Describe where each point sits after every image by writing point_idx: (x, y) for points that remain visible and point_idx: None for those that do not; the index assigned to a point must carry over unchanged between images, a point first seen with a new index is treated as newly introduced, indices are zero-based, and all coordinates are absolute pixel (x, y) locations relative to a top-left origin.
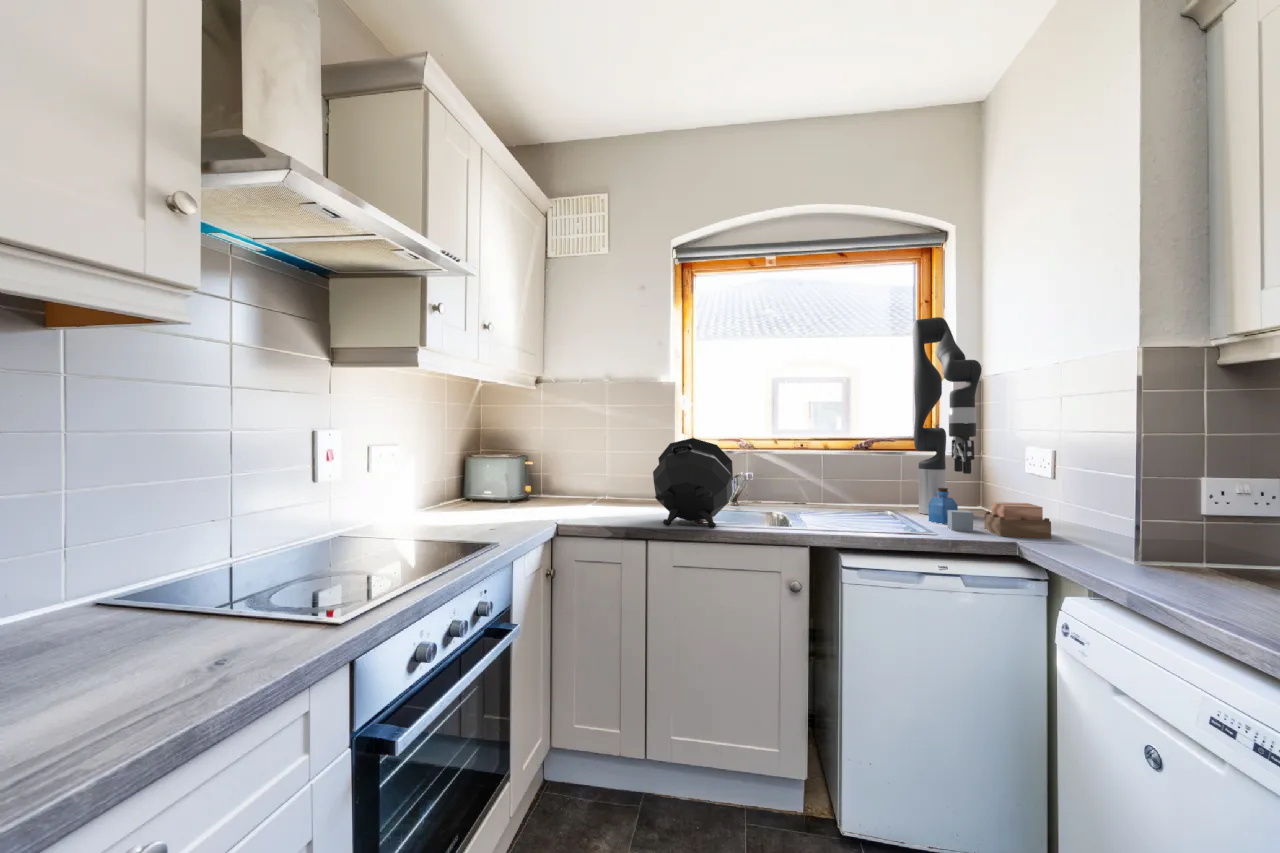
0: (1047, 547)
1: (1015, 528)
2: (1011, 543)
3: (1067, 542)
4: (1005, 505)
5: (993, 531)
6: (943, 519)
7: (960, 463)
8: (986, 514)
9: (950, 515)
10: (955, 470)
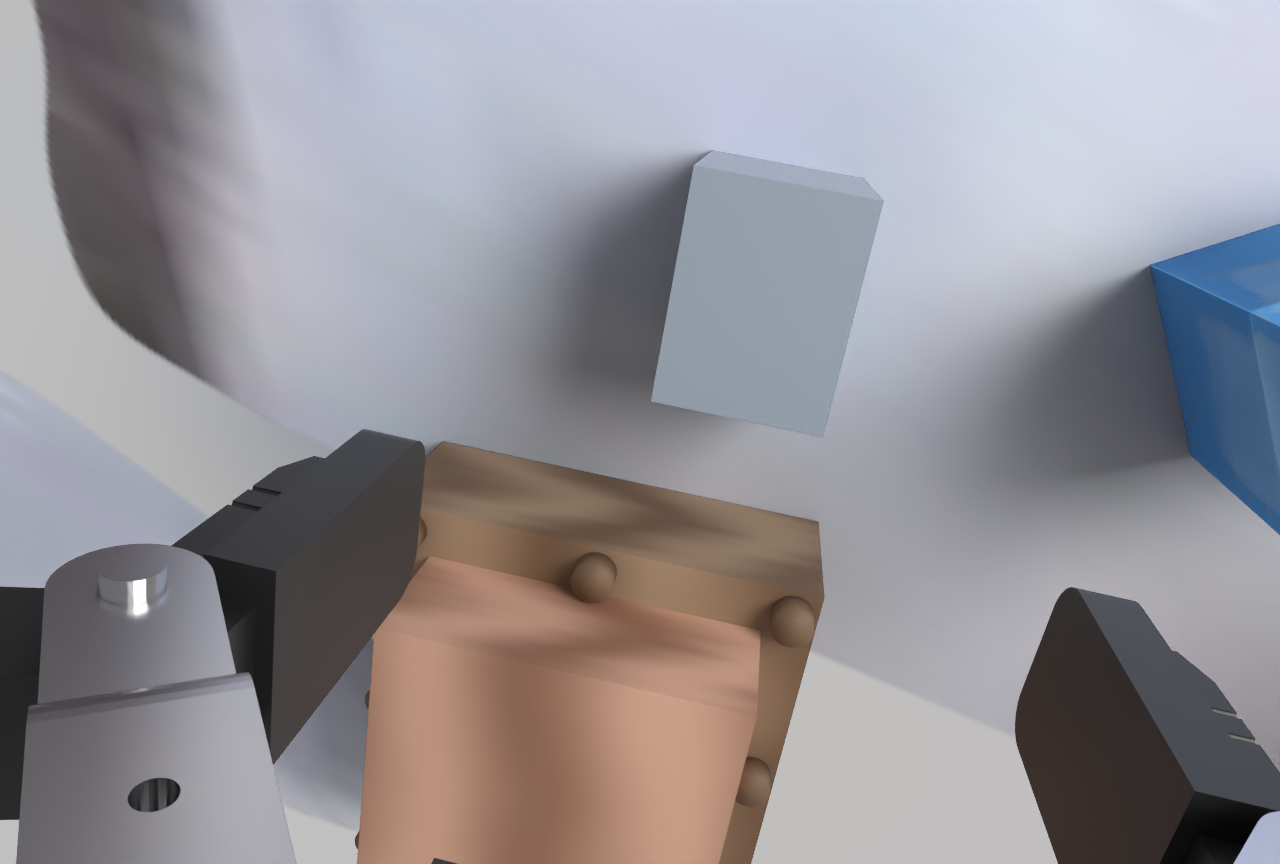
0: (67, 512)
1: None
2: (148, 349)
3: (297, 754)
4: (416, 664)
5: (593, 480)
6: (1172, 280)
7: (1083, 848)
8: (759, 582)
9: (752, 171)
10: (1071, 599)
